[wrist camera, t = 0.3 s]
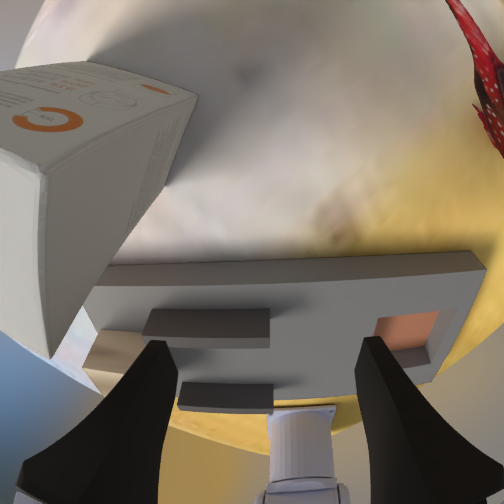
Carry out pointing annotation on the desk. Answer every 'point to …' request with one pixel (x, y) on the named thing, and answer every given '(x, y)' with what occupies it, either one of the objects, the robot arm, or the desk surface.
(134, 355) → the maple block
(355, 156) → the desk surface
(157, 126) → the small box
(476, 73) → the decorative bird figurine
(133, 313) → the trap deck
